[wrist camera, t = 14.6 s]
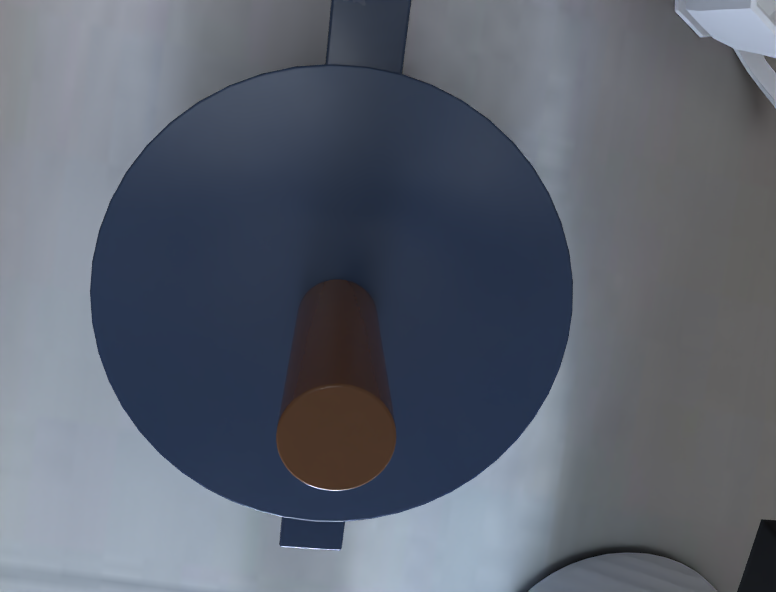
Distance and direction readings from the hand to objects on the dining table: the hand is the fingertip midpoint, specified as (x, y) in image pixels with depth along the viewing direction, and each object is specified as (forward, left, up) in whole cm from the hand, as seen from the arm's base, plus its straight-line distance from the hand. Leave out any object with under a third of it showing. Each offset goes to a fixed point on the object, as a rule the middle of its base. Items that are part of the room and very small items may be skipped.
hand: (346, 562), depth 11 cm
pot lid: (0, 0, -13) cm, 13 cm away
